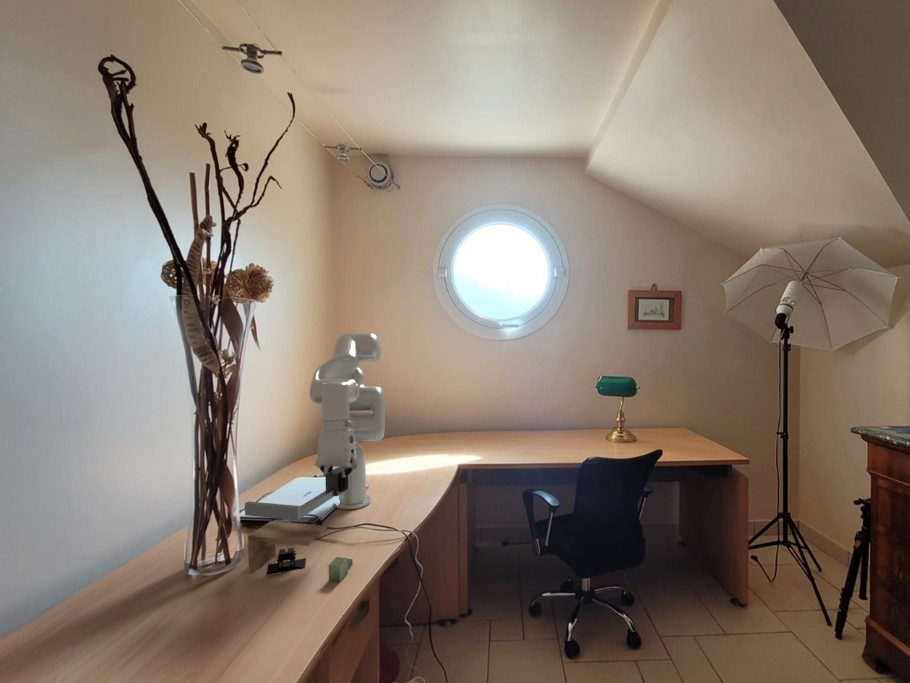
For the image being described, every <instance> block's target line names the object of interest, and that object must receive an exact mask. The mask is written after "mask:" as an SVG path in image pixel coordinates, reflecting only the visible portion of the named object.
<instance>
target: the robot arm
mask: <svg viewBox="0 0 910 683" xmlns="http://www.w3.org/2000/svg"><path fill="white" fill-rule="evenodd" d="M381 356H382V346H381V343H380V340H379V338H378V337H377V335H376V334H374V333H371V332H361V333H360V332H357V333H356V332H352V333H350V332H349V333H344V334H342V335H340V336H339V337H338V338H337V339H336V344H335V346H334V352H333V356H332V358H330V359H329V360H327V361H326V362H324V363H323V364H321V365H320V366H318V367H317V369H316V370H315V372H314V374H313V376H312V379H311V382H310V386H309V397H310V401H312V403H313V404H315V405H321V430H320V431H319V436H318V441H317V442H318V445H317V459H315V462H314V466H315V467H317V468H318V469H319V470H320V471H321V473H323V476H324V477H325V474H326V473H328V472H330V471H331V470H333V468H334V467H336V468H340V470H341V478H340V492H343V491H344V492H343V493H341V494H340V495H338V498H339V500H340V504H339V505H338V506H337V505H336V506H335V508H337V509H341V510H355V509H361V508H364V507H366V506H368V505H369V504H370V503H371V497H370V496H369V495H368V494H367V490H368V489H369V488H370V485H369V484H367V481H366V480H367V479H366V478H367V475H366V474H367V473H366V470H367V469H366V468H367V467H366V452H365V449H364V448H363V447H362V445H361V444H360V442H375V441H380V440H382V439H383V438H384V437H385V431H386V427H385V426H386V422H385V420H386V419H385V418H386V414H385V413H386V410H385V408H386V403H385V402H386V401H385V393H384V390H383V388H381V386H373V385H370V386H369V385H368V386H366V385H365V384H366V376H365V373H364V372H363V370H362V369H361V368H360V367H359V363H367V362H369V363H370V362H378V361H379V360H380V358H381ZM350 413H368V414H350ZM369 413H370V414H369ZM347 488H348V489H347ZM346 489H347V490H346ZM345 490H346V491H345Z"/></svg>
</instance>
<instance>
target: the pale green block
mask: <svg viewBox="0 0 910 683" xmlns="http://www.w3.org/2000/svg"><path fill="white" fill-rule="evenodd" d="M353 564H354V563H353V558H348V557H339V556H336V557H335V558H334V559H333V560H332V561H331V562H329V564H328V583H338V584H340V583H342V581H344V579H345V578H346V577H347V576H348V573H349V572H348V571H349V570H350V569H351V568H352V567H353Z"/></svg>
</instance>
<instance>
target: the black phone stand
mask: <svg viewBox="0 0 910 683" xmlns="http://www.w3.org/2000/svg"><path fill="white" fill-rule="evenodd" d="M296 556H297V553H296V550H295V547H288V548H287V550H286V548H281V549H279V551H278V554H277V557H276V558H277V559H276V562H273V563H268V564H267V567H266V573H265V575H266V576H267V575H268V576H269V575H274V574H279V573H287V572H292V571H298V570H303V569H306V562H307V558H304V557H303V558H299V559H297V557H296Z"/></svg>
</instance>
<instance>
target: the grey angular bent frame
mask: <svg viewBox="0 0 910 683" xmlns="http://www.w3.org/2000/svg"><path fill="white" fill-rule="evenodd" d="M324 477H325V490H324V491H323V492H321V493H319V494H318V495H316V496H315V497H313V498H311V499H309V500H308V501H306V502H305V503H302V504H301V505H294V504H284V503H283V504H281V503H273V502H272V503H271V502H270V503H269V502H258V501H246V502H245V503H244V515H245V516H249V517H261V518H269V519H270V518H271V519H278V520H290V521H299V520H301V519H302V518H304V517H306V516H307V515H308V514H310V513H311V512H313V511H314V510H316V509H317V508H319V507H320V506H322V505H324V504H325V503H327V502H328V501H330V500H331V499H333V498H335V497H339V495H340V494H341V493H343V492H344V491H343V492H340V478H341V470H340V468H338V467H335V468H334V469H333V470H331V471H330V472H328V473H326V474H325V476H324ZM347 489H348V488H347ZM347 489H346V490H347ZM346 490H345V491H346Z"/></svg>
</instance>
